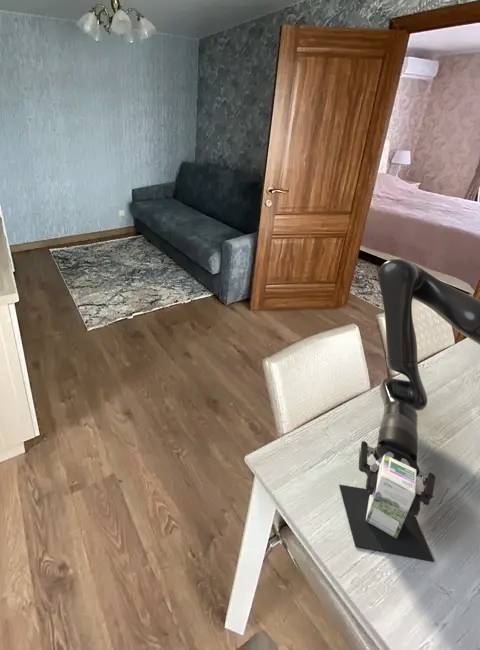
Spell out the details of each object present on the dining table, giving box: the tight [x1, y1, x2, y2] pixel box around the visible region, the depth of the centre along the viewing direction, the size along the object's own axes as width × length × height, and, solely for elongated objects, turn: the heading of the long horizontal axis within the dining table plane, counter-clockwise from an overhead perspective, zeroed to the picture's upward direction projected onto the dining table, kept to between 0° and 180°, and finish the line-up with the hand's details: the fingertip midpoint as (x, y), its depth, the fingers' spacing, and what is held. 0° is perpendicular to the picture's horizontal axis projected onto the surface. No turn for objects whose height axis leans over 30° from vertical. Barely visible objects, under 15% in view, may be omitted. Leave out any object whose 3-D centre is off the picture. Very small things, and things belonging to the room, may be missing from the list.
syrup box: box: [366, 455, 417, 538], centre depth 69 cm, size 6×6×14 cm
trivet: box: [338, 484, 435, 563], centre depth 72 cm, size 14×12×1 cm
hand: (391, 502), depth 67 cm, fingers open, 6 cm apart
